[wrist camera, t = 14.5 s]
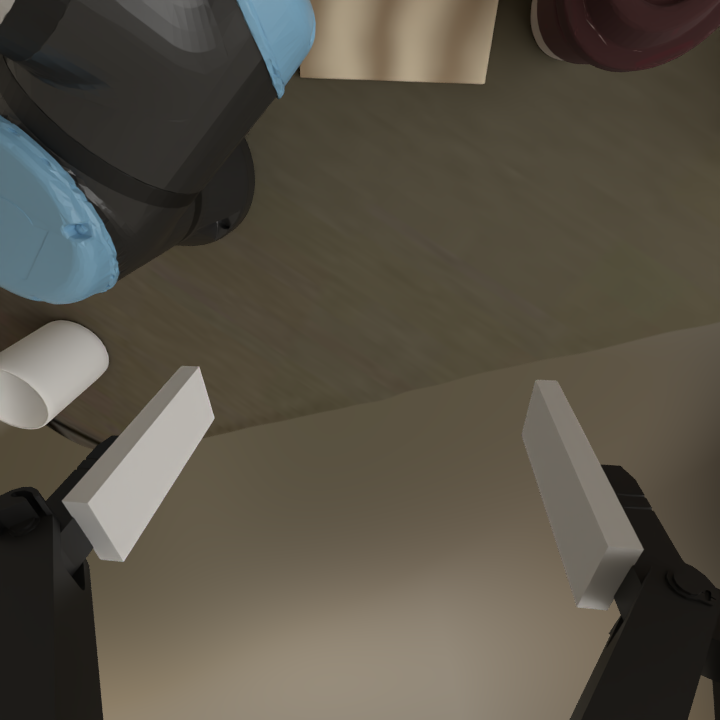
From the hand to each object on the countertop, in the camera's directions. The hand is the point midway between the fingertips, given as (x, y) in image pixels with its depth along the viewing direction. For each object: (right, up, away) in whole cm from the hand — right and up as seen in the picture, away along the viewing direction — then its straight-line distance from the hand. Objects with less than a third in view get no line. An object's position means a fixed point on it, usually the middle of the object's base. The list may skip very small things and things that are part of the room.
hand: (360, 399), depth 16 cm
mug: (-41, +3, +41) cm, 58 cm away
